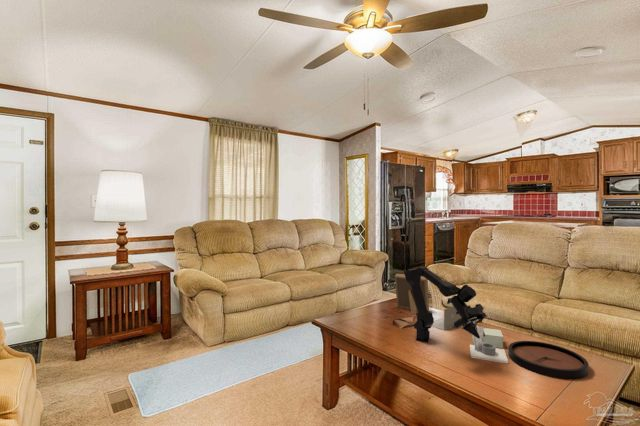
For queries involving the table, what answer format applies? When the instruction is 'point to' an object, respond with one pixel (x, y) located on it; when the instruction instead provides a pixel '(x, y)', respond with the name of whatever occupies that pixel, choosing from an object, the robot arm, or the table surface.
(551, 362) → the wall clock
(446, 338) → the table surface
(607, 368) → the table surface
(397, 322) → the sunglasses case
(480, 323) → the gold topped patterned cylinder
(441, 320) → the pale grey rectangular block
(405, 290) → the tall grey box
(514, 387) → the table surface
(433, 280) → the robot arm
